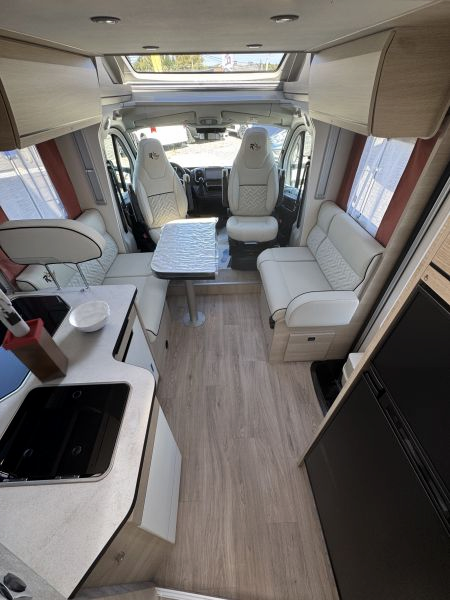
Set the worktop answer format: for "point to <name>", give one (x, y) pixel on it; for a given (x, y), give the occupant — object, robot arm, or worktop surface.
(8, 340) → the red tray
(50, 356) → the pedestal
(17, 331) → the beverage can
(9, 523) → the worktop surface
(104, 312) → the bowl
